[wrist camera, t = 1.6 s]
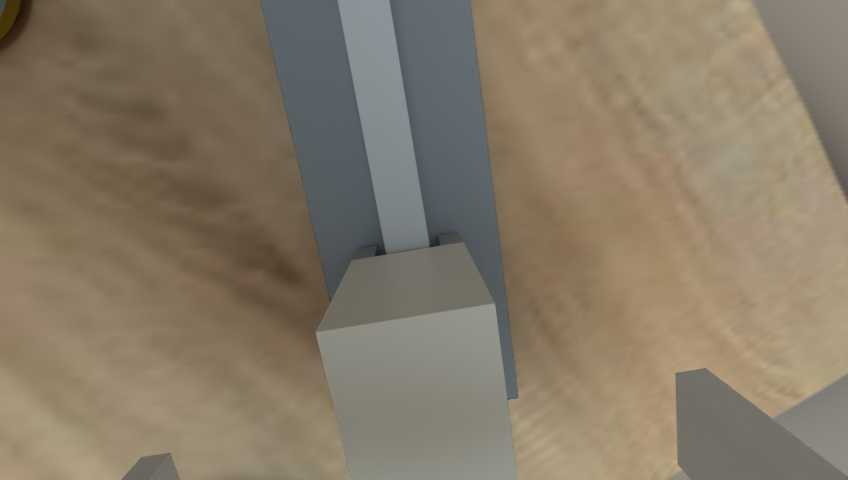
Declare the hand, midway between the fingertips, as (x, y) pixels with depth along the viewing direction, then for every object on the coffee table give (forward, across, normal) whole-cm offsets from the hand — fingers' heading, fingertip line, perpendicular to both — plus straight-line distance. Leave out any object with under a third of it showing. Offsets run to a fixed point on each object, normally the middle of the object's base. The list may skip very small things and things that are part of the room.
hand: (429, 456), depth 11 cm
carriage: (+10, 0, 0) cm, 10 cm away
